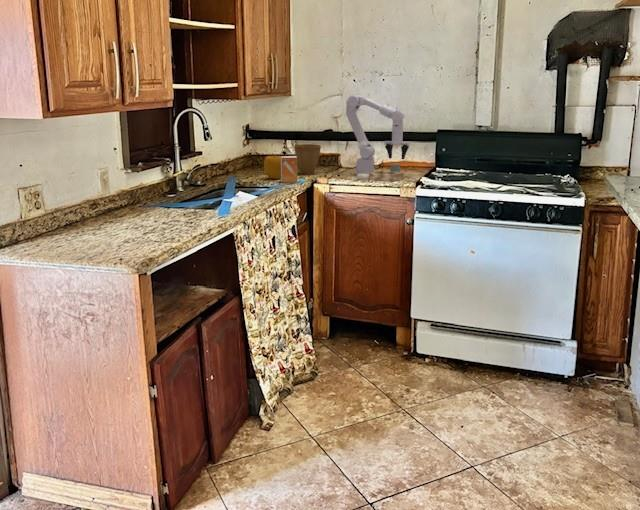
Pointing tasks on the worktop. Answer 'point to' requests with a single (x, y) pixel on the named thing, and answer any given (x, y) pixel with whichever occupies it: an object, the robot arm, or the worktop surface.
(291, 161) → the small box
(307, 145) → the plant pot
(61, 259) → the worktop surface
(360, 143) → the robot arm
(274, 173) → the mustard rounded block
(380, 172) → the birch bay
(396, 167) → the slate plug
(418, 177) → the worktop surface
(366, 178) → the pale grey block
